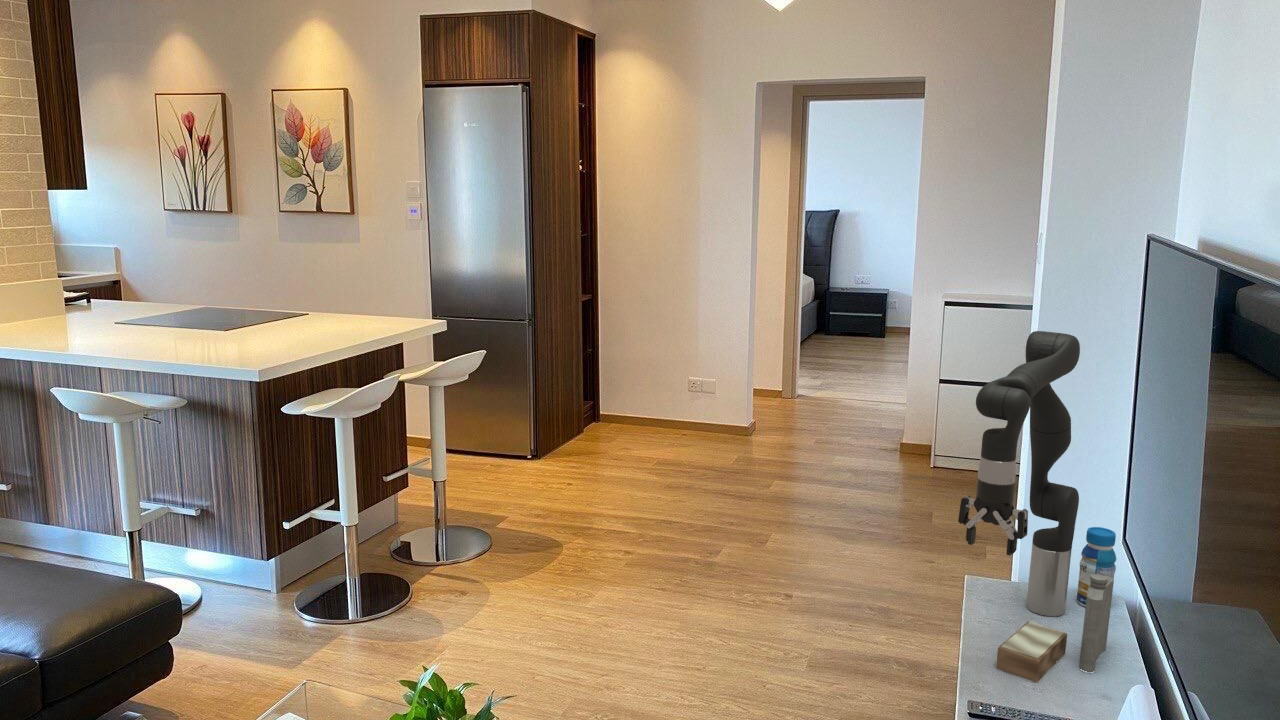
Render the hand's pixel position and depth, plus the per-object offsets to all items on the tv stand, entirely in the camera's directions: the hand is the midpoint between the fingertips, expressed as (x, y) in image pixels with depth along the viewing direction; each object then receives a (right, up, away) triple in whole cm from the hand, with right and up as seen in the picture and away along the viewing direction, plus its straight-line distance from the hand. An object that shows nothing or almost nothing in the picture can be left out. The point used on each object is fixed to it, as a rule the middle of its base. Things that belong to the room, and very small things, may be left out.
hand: (990, 549), depth 208 cm
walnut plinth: (+13, -28, +11) cm, 33 cm away
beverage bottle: (+42, -23, +41) cm, 63 cm away
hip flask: (+28, -28, +13) cm, 41 cm away
